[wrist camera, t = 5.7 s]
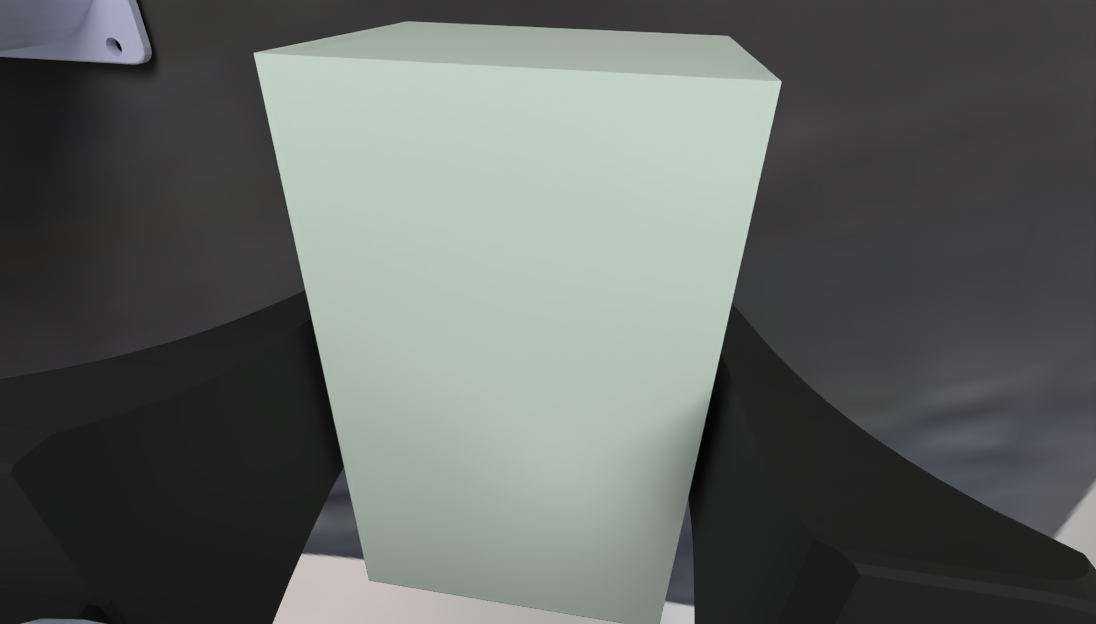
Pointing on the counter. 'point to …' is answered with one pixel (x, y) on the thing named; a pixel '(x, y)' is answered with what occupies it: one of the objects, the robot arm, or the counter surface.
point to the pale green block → (520, 290)
